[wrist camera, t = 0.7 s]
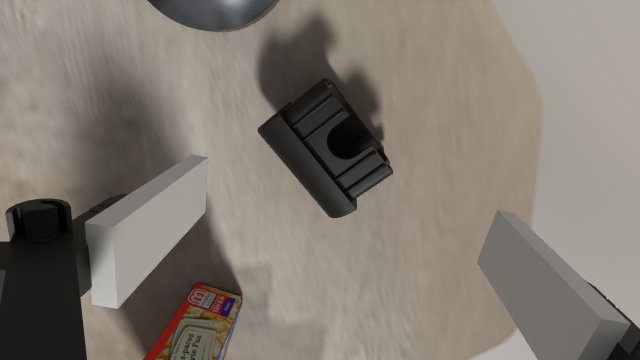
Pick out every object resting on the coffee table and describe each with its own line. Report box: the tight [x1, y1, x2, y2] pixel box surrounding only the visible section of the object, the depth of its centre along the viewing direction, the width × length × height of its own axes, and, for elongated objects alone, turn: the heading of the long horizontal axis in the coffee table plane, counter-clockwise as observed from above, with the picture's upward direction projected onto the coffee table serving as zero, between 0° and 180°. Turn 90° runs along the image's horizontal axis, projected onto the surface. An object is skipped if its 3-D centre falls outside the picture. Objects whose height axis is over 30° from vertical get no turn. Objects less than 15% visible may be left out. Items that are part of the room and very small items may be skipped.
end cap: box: [258, 79, 393, 218], centre depth 30 cm, size 10×7×7 cm
